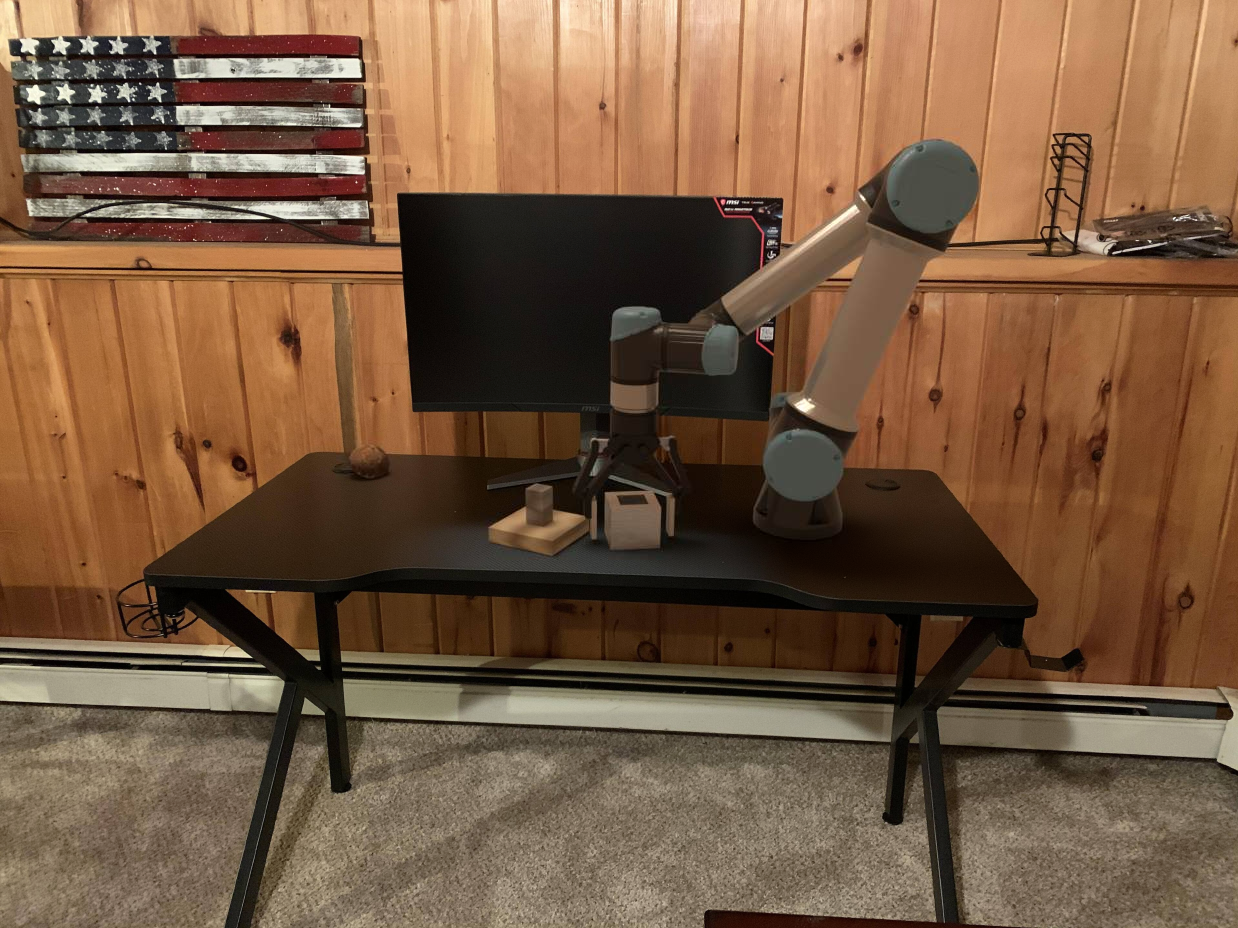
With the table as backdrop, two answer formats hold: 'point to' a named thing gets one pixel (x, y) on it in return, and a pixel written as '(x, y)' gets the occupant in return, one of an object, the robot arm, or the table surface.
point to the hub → (632, 520)
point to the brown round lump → (369, 461)
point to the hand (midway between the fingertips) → (631, 534)
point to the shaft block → (539, 524)
